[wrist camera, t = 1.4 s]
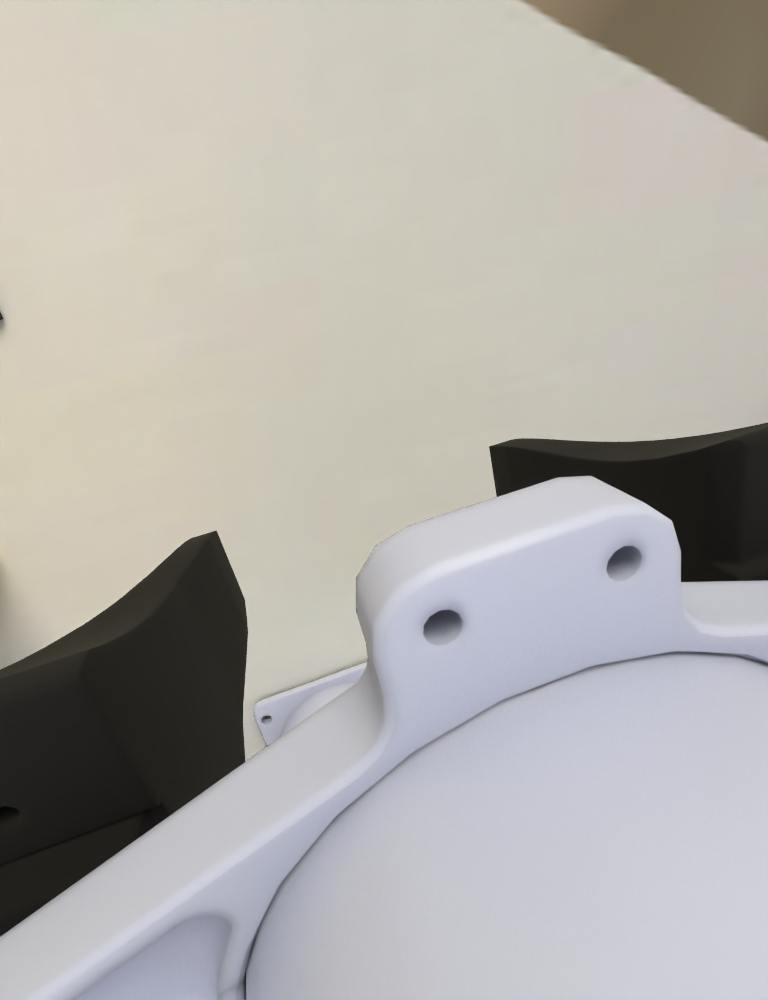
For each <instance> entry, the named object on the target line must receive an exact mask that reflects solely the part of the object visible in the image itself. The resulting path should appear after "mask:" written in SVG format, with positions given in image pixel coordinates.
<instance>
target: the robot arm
mask: <svg viewBox="0 0 768 1000" xmlns="http://www.w3.org/2000/svg"><path fill="white" fill-rule="evenodd" d="M489 448H490V455H491V461H492V468H493V475H494V481H495V488H496V494H497V497H496V498H492V499H489V500H486V501H483V502H480V503H477V504H474V505H471V506H468V507H465V508H461V509H458V510H455V511H452V512H449V513H446V514H443V515H440V516H437V517H434V518H430V519H427V520H424V521H421V522H418V523H415V524H412V525H409V526H407V527H406V528H404V529H402V530H401V531H399V532H397V533H396V534H394V535H392V536H391V537H389V538H387V539H386V540H384V541H383V542H381V543H379V544H378V545H376V546H375V548H374V549H373V551H372V553H371V554H370V556H369V557H368V559H367V561H366V562H365V564H364V566H363V567H362V569H361V570H360V572H359V574H358V575H357V577H356V612H357V615H358V619H359V622H360V625H361V628H362V632H363V635H364V638H365V641H366V647H367V655H368V659H367V662H364V663H362V664H359V665H356V666H353V667H351V668H348V669H345V670H342V671H340V672H337V673H334V674H331V675H329V676H326V677H323V678H320V679H318V680H315V681H312V682H310V683H307V684H304V685H301V686H299V687H296V688H293V689H290V690H288V691H285V692H282V693H279V694H277V695H274V696H271V697H268V698H266V699H263V700H260V701H259V702H257V703H256V704H255V705H254V717H255V719H256V721H257V724H258V726H259V728H260V731H261V733H262V736H263V738H264V740H265V743H266V745H267V747H265V748H264V749H263V750H261V751H260V752H258V753H257V754H256V755H254V756H253V757H251V758H250V759H249V760H247V761H246V762H245V751H244V734H243V699H244V685H245V670H246V655H247V638H248V627H247V616H246V607H245V599H244V597H243V594H242V592H241V589H240V587H239V584H238V582H237V580H236V577H235V575H234V572H233V570H232V567H231V565H230V563H229V560H228V558H227V555H226V553H225V550H224V548H223V546H222V543H221V541H220V538H219V536H218V533H217V531H214V532H210V533H207V534H204V535H201V536H197V537H194V538H191V539H189V540H188V541H186V542H185V543H183V544H182V545H181V546H180V547H179V548H177V549H176V550H175V551H174V552H173V553H172V554H171V555H170V556H169V557H168V558H167V559H165V560H164V561H163V562H162V563H161V564H160V565H159V566H158V567H157V568H156V569H155V570H154V571H152V572H151V573H150V574H149V575H148V576H147V577H146V578H144V579H143V580H142V581H141V582H140V583H139V584H137V585H136V586H135V587H134V588H133V589H132V590H130V591H129V592H128V593H127V594H126V595H124V596H123V597H122V598H121V599H119V600H118V601H117V602H115V603H114V604H113V605H111V606H110V607H109V608H107V609H106V610H105V611H103V612H102V613H100V614H99V615H97V616H96V617H94V618H93V619H92V620H90V621H89V622H87V623H85V624H84V625H82V626H81V627H79V628H77V629H76V630H74V631H72V632H71V633H69V634H67V635H65V636H64V637H62V638H60V639H59V640H57V641H55V642H54V643H52V644H50V645H48V646H47V647H45V648H43V649H41V650H39V651H37V652H36V653H34V654H32V655H30V656H28V657H26V658H24V659H22V660H20V661H18V662H16V663H14V664H12V665H10V666H7V667H5V668H3V669H1V670H0V1000H768V423H764V424H760V425H755V426H750V427H745V428H740V429H735V430H730V431H725V432H719V433H713V434H707V435H700V436H692V437H684V438H676V439H666V440H655V441H636V442H588V441H568V440H551V439H514V440H509V441H506V442H503V443H499V444H496V445H493V446H490V447H489ZM264 716H270V718H269V719H263V717H264Z"/></svg>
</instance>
